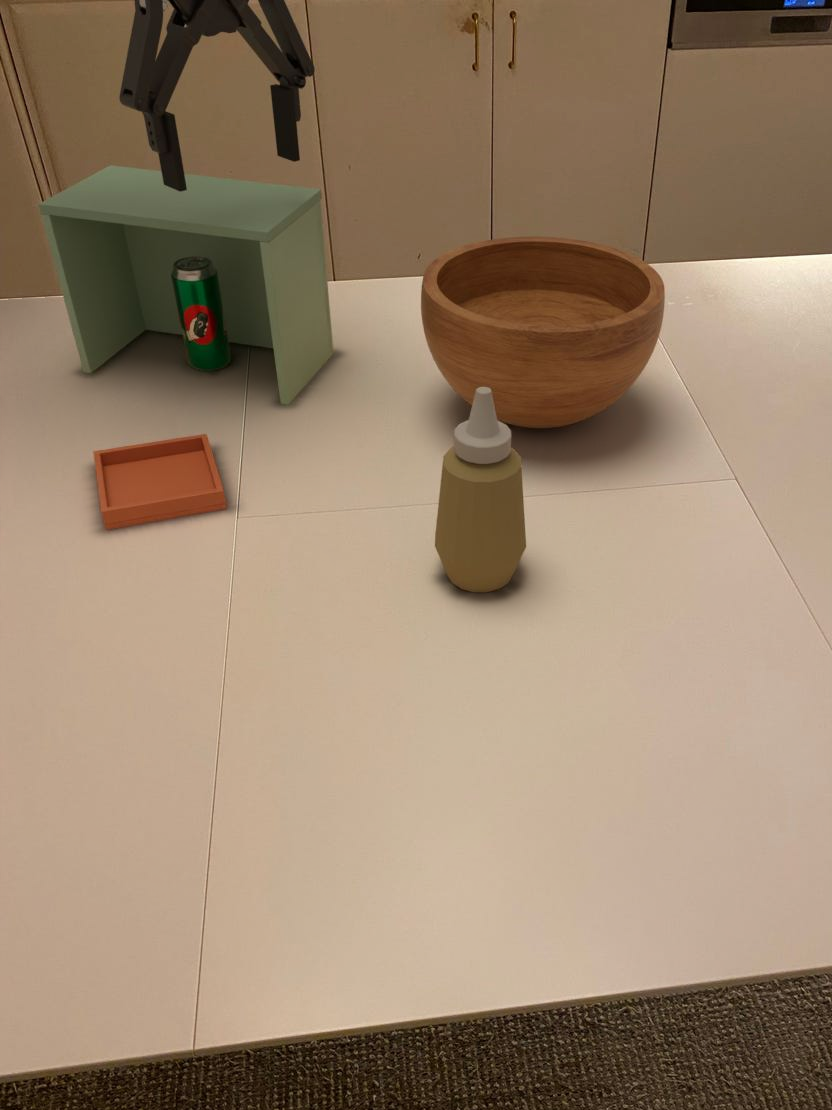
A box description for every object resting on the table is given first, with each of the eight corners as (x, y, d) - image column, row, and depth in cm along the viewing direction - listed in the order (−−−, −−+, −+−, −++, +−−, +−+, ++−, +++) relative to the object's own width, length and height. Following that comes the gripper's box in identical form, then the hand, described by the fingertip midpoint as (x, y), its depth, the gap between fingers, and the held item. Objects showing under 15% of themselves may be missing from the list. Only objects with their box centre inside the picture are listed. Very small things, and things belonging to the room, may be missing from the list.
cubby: (288, 405, 111) (267, 232, 98) (83, 372, 115) (37, 204, 103) (335, 351, 121) (321, 188, 108) (144, 323, 126) (110, 165, 113)
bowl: (566, 501, 97) (579, 358, 87) (376, 421, 108) (369, 286, 98) (687, 405, 112) (710, 273, 102) (510, 343, 123) (515, 219, 113)
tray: (98, 469, 100) (93, 451, 99) (209, 451, 103) (206, 433, 102) (106, 530, 92) (101, 511, 91) (226, 508, 95) (223, 490, 94)
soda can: (240, 364, 118) (224, 264, 110) (203, 377, 115) (184, 276, 107) (216, 350, 120) (199, 251, 112) (180, 363, 118) (160, 262, 110)
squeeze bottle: (541, 567, 89) (555, 384, 77) (493, 614, 84) (499, 427, 72) (467, 537, 92) (469, 357, 80) (416, 580, 87) (410, 396, 75)
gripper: (88, -79, 74) (145, 211, 89) (340, -99, 88) (354, 155, 102) (38, -90, 78) (100, 190, 92) (287, -107, 92) (308, 139, 106)
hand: (234, 172), depth 97 cm, fingers open, 13 cm apart
